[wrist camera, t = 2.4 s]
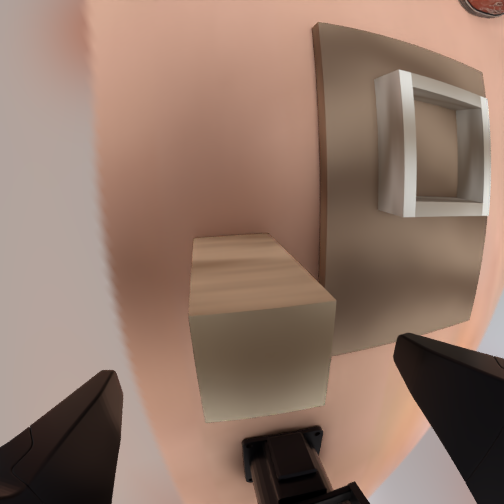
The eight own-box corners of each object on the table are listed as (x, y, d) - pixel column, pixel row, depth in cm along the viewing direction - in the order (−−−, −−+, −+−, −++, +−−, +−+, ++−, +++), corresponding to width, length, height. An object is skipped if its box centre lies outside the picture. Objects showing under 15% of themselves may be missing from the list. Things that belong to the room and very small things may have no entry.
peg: (269, 300, 18) (324, 405, 9) (199, 307, 17) (205, 422, 9) (268, 232, 17) (336, 300, 8) (193, 238, 16) (188, 316, 8)
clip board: (462, 315, 22) (488, 332, 18) (314, 350, 19) (334, 381, 16) (473, 74, 16) (505, 68, 13) (312, 28, 14) (335, 3, 11)
